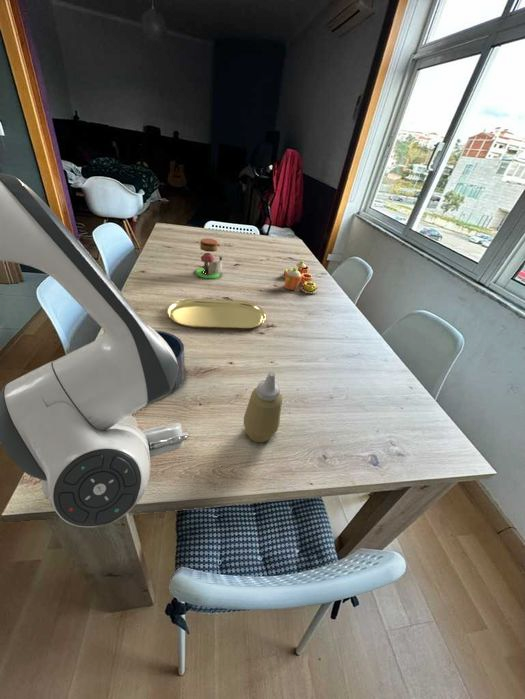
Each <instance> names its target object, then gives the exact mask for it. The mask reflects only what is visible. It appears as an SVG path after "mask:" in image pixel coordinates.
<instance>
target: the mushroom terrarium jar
mask: <svg viewBox="0 0 525 699" xmlns="http://www.w3.org/2000/svg"><path fill="white" fill-rule="evenodd" d="M218 244H219V242H218V241H217V240H216V239H214V238H207V237H206V238H201V239H200V248H199V249H200V250H201V251H204V253H203V255H201V256H200V260H201V262H203V263H204V264H203V265H202V267H201V268H199V269H197V270H196V271H195V274H196V276H198V277H199V278H203V279H209V280H210V279H211V280H212V279H217V278H219V277H220V275H221V272H222V271H223V257H222V256H221V255H219V261H215V256H214V255H213V254H212V253H214V252H217V251H218V246H219V245H218ZM204 270H205V271H204ZM203 271H204V273H203ZM205 273H206V274H205Z"/></svg>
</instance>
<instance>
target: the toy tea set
mask: <svg viewBox="0 0 525 699" xmlns="http://www.w3.org/2000/svg"><path fill="white" fill-rule="evenodd" d="M296 267H297V268H296ZM309 271H310V267H309V266H308V265H306V264H305V263H304V261H303V260H300V262H297V263H296V264H295V267H293V268H291V267H290V268H285V270H284V271H283V274H282V277H283V278H284V288H285V289H286V290H289V291H296V290H297V289H298V287H299V285H300V284H301V285H302V286H301V288H300V290H301V291H302V292H304V293H306V294H315V293H316V292H317V291H316V290H317V289H318V286H317V284H316V283H315V282H312V280H313V278H314V277H313V275H312V274H310V273H308V272H309Z"/></svg>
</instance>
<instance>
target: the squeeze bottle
mask: <svg viewBox="0 0 525 699" xmlns="http://www.w3.org/2000/svg"><path fill="white" fill-rule="evenodd" d="M282 406H283V396H282V394H281V387H280V385H279V384H278V383H277V382H276V373H275V372H274V371H270V372H268V374H267V376H266V378H265V379H263V380H261V381H259V382H258V384H257V386H256V387H255V388H254V389H253V390H252V392H251V394H250V397H249V400H248V404H247V406H246V409H245V412H244V416H243V425H244V429H245V431H246V434H247V436H248V437H249V439H250V440H252V441H254V442H256V443H264V442H267V441H269V440H270V439H271V438H272V437H273V436H274V435H275V434H276V433H277V432H278V430H279V427H280V422H281V413H282Z"/></svg>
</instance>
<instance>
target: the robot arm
mask: <svg viewBox="0 0 525 699" xmlns="http://www.w3.org/2000/svg"><path fill="white" fill-rule="evenodd" d="M0 262H7V263H16V264H20V265H25V266H28V267H32V268H34V269H37V270H39V271H41V272H42V273H45V274H46V275H48V276H50V277H51V278H52V279H53V280H55V281H56V282H57V283H58V284H59V285H60V286H61V287H62V288H63V289H64V290H65V291H66V292H67V293H68V294H69V296H71V297H72V298H73V300H74V301H76V303H77V304H78V305H79V306H80V307H81V308H82V309H83V310H84V311H85V312H86V314H88V315H89V316H90V317H91V318H92V319H93V320H94V322H95V323H97V325H98V326H99V327H100V328H101V329H102V330H103V333H102V334H101V335H100V337H98V338H97V339H95V340H93V341H91V342H89V343H87V344H85V345H83V346H81V347H79V348H77V349H75V350H73V351H72V352H69V353H67V354H65V355H63V356H61V357H59V358H57V359H55V360H52V361H49V362H47V363H45V364H43V365H41V366H39V367H37V368H35V369H33V370H31V371H29V372H27V373H25V374H23V375H22V376H19V377H18V378H15V379H14V380H12V381H10V382H8V383H6V384H4V386H3V388H2V389H1V391H0V445H1V447H2V448H3V450H4V451H5V453H6V454H7V456H8V457H9V458H10V459H11V461H13V463H14V464H15V465H16V466H17V467H18V468H19V469H21V471H23V472H24V473H25V474H27V475H28V476H30V477H33V478H35V479H38V480H40V483H41V489H42V493H43V496H44V498H45V499H46V498H47V499H49V502H50V505H51V507H52V509H53V510H54V512H55V513H56V515H57V516H58V517H59V519H61V520H62V521H64V522H65V523H67V524H69V525H71V526H74V527H78V528H84V529H85V528H86V529H90V528H91V529H92V528H93V529H94V528H100V527H105V526H107V525H110V524H112V523H114V522H117V521H119V520H120V519H122V518H123V517H125V516H126V515H127V514H129V512H131V511H132V510H133V509H134V507H136V505H137V504H138V503H139V501H140V500H141V499H142V497H143V496H144V494H145V491H146V489H147V487H148V485H149V481H150V477H151V457H155V456H159V455H163V454H166V453H171V452H174V451H177V450H180V449H181V448H183V447H184V445H185V441H187V440H189V437H190V436H189V434H188V432H183V426H182V423H181V422H172V423H167V424H163V425H158V426H154V427H149V428H145V429H140V428H139V427H138V426H137V427H136V426H134V425H131V424H128V423H122V422H120V421H122V420H123V419H125V418H126V417H128V416H130V415H131V416H132V415H133V414H135V413H136V412H138V411H139V410H142V408H144V407H148V406H150V405H152V404H154V403H156V402H158V401H159V400H161V399H164V398H165V397H167V396H169V395H170V394H172V393H171V391H172V389H173V386H174V384H175V381H176V378H177V375H178V371H179V366H178V364H177V360H176V357H175V355H174V353H173V351H172V349H171V348H170V346H169V345H168V344H167V342H166V341H165V340H164V339H163V338H162V337H161V336H160V335H159V334H158V333H157V332H156V331H155V330H156V329H154V328H153V327H151V326H150V325H149V324H148V323H147V322H146V321H144V320H143V318H142V317H141V316H140V315H139V313H138V312H137V311H136V310H135V308H133V305H132V304H131V303H130V302H129V300H127V298H126V297H125V295H123V293H122V292H121V291H120V289H119V288H118V287H117V286H116V285H115V283H114V282H113V281H112V280H111V278H110V277H109V276H108V275H107V273H105V271H104V270H103V268H102V267H101V266H100V265H99V264H98V263H97V261H96V260H95V258H94V257H93V256H92V255H91V254H90V253H89V251H88V250H87V249H86V248H85V246H84V245H83V244H82V242H80V240H79V239H78V238H77V237H75V235H74V234H73V233H72V232H71V231H70V230H69V228H68V227H67V226H66V225H65V224H64V223H63V222H62V220H61V219H60V217H58V216H57V214H56V213H55V212H54V211H53V209H52V208H50V206H48V204H47V203H46V202H45V201H44V200H43V199H42V198H41V197H40V196H39V195H38V194H37V193H36V192H35V191H34V190H33V189H32V188H31V187H29V186H28V185H27V184H26V183H24V182H23V181H22V180H20V179H19V178H18V177H16V176H15V175H12V174H7V173H2V172H0Z"/></svg>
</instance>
